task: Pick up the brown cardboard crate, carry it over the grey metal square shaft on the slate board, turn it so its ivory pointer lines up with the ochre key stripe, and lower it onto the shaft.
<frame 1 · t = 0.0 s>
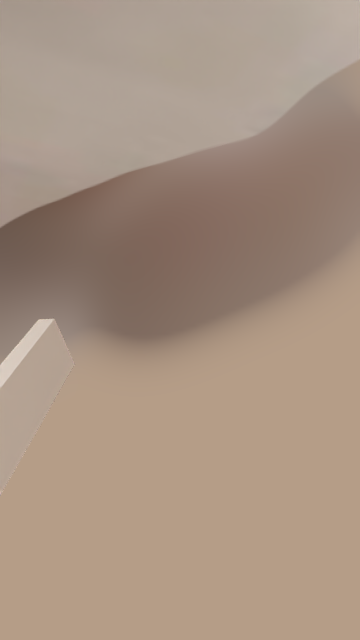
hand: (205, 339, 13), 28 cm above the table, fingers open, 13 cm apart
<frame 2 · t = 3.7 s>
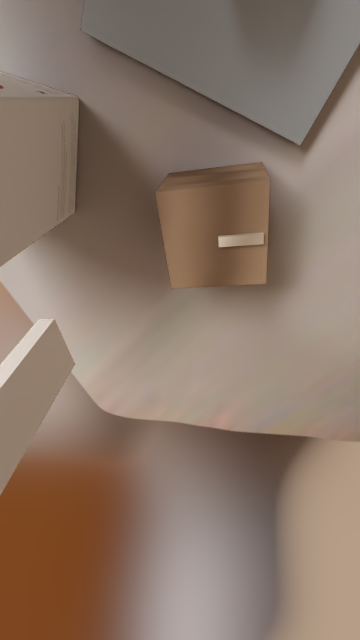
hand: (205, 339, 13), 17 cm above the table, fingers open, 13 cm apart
supplement box: (26, 143, 25), on the table
brown cardboard crate: (216, 214, 26), on the table
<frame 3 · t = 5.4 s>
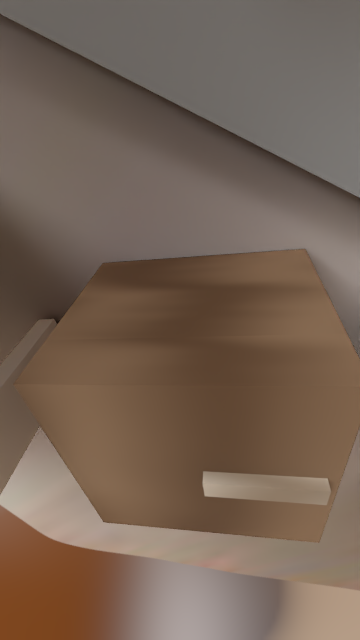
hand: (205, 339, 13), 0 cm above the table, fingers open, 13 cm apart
brown cardboard crate: (206, 335, 13), on the table
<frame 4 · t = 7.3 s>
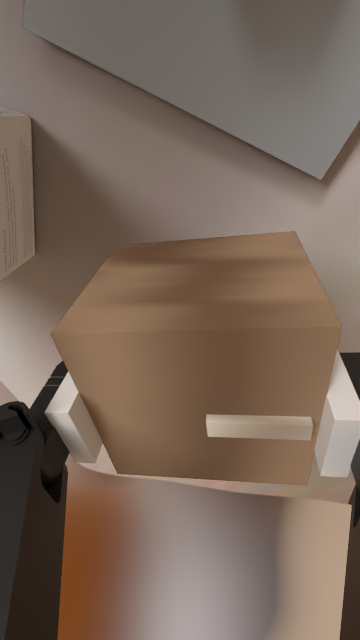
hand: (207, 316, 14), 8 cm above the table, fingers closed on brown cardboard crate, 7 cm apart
brown cardboard crate: (208, 312, 14), point 7 cm above the table, touching gripper
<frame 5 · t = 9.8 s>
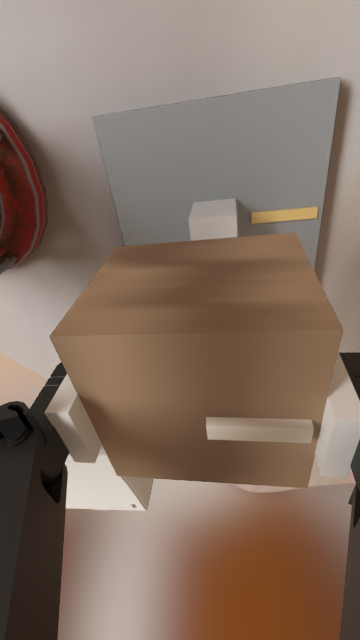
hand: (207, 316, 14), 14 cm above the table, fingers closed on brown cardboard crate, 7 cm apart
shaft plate: (216, 216, 25), on the table
supplement box: (129, 359, 37), on the table
brown cardboard crate: (207, 313, 14), point 14 cm above the table, touching gripper
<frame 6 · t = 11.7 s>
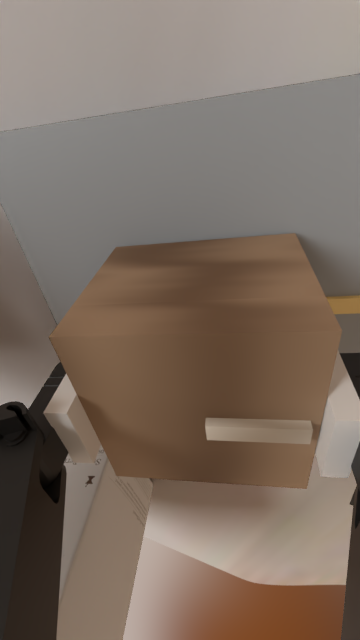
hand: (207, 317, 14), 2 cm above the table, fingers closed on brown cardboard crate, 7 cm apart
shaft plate: (208, 295, 15), on the table
supplement box: (93, 456, 27), on the table
brown cardboard crate: (207, 313, 14), point 1 cm above the table, touching gripper, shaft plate
when the fingers open (2 cm above the table, at t = 12.5 s): brown cardboard crate stays where it is, resting on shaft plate.
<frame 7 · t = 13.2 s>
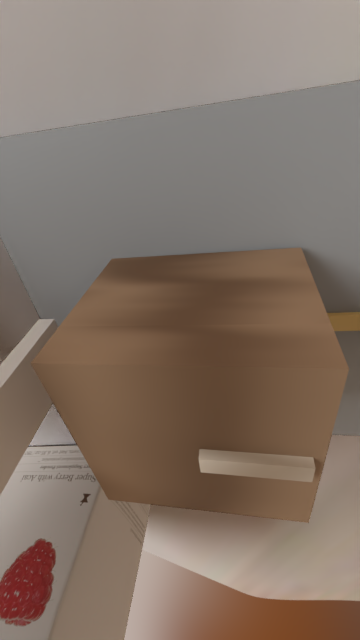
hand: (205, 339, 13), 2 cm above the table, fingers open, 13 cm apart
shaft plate: (208, 309, 15), on the table
supplement box: (89, 470, 26), on the table
brown cardboard crate: (207, 328, 14), point 1 cm above the table, touching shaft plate
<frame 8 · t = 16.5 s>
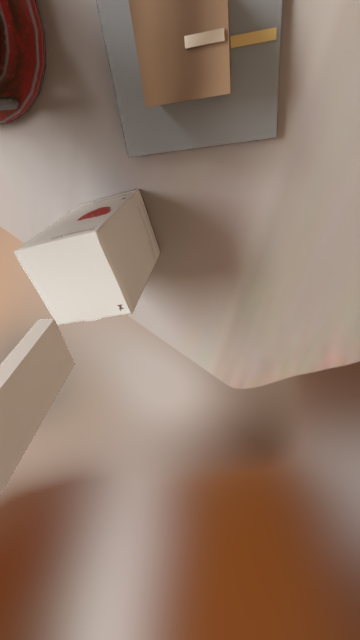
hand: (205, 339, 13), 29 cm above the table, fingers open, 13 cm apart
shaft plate: (192, 51, 29), on the table
supplement box: (120, 228, 41), on the table
brown cardboard crate: (191, 52, 28), point 1 cm above the table, touching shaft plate
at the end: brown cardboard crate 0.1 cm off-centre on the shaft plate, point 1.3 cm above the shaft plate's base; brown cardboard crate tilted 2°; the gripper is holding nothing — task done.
